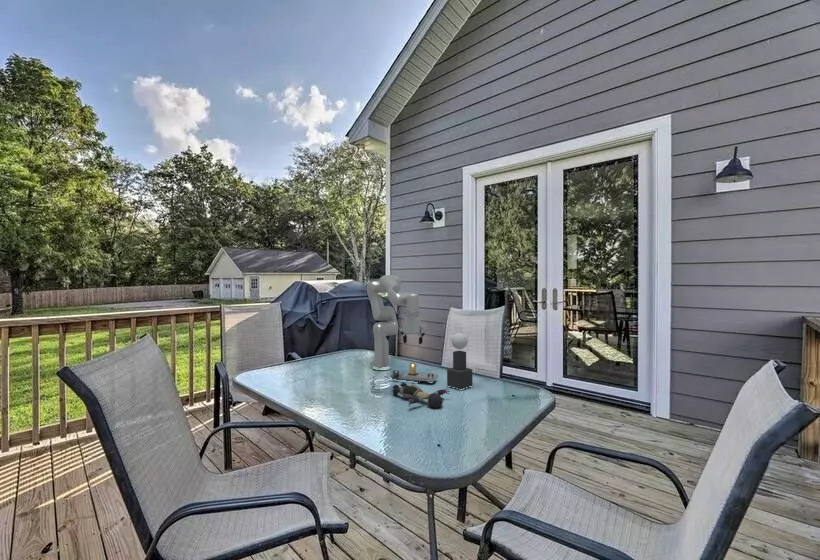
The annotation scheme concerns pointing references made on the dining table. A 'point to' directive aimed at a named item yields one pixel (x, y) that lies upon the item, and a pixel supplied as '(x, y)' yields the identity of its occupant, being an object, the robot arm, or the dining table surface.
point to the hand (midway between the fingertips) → (412, 343)
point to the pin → (412, 369)
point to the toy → (420, 394)
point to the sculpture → (459, 365)
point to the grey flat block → (417, 378)
